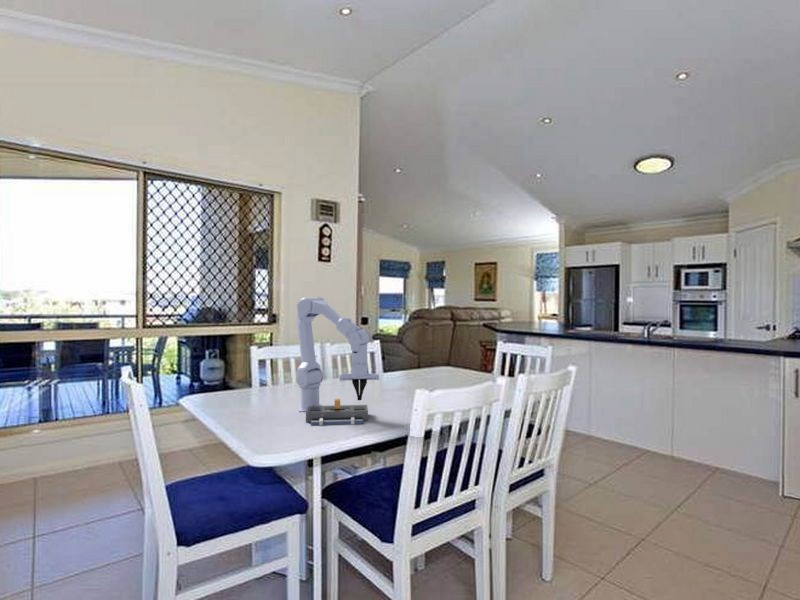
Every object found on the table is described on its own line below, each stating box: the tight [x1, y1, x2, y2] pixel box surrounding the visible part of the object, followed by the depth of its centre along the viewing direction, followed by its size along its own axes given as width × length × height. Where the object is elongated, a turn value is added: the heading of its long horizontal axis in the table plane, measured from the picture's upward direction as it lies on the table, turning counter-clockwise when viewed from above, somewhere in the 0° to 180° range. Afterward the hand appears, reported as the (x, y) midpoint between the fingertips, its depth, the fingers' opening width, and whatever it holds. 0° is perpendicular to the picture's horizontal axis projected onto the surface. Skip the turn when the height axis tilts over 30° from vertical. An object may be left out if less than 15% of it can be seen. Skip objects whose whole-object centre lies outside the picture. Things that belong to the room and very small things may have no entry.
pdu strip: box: [305, 404, 369, 423], centre depth 173 cm, size 9×22×4 cm, turn 96°
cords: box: [310, 417, 364, 426], centre depth 167 cm, size 4×18×2 cm, turn 96°
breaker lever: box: [334, 398, 341, 409], centre depth 173 cm, size 2×2×3 cm
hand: (359, 399), depth 174 cm, fingers closed
